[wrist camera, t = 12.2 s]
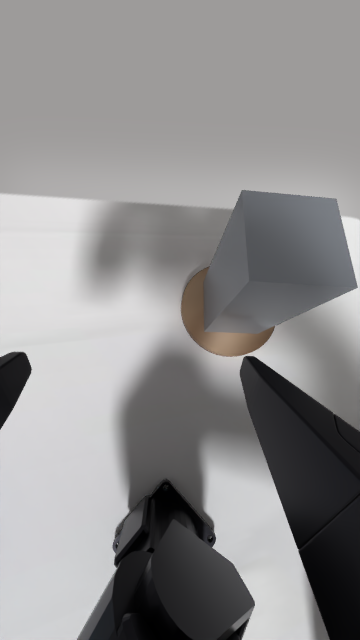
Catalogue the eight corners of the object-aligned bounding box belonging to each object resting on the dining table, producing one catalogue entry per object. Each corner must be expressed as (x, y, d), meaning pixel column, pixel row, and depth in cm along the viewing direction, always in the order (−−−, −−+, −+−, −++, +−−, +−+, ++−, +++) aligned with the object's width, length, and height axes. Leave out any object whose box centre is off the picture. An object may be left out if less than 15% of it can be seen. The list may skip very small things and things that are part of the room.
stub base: (288, 311, 25) (316, 296, 20) (231, 377, 22) (249, 377, 17) (222, 253, 26) (235, 227, 22) (161, 308, 24) (161, 292, 19)
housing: (257, 333, 22) (357, 287, 11) (204, 331, 22) (249, 281, 10) (253, 284, 24) (336, 198, 12) (203, 281, 24) (241, 190, 12)
